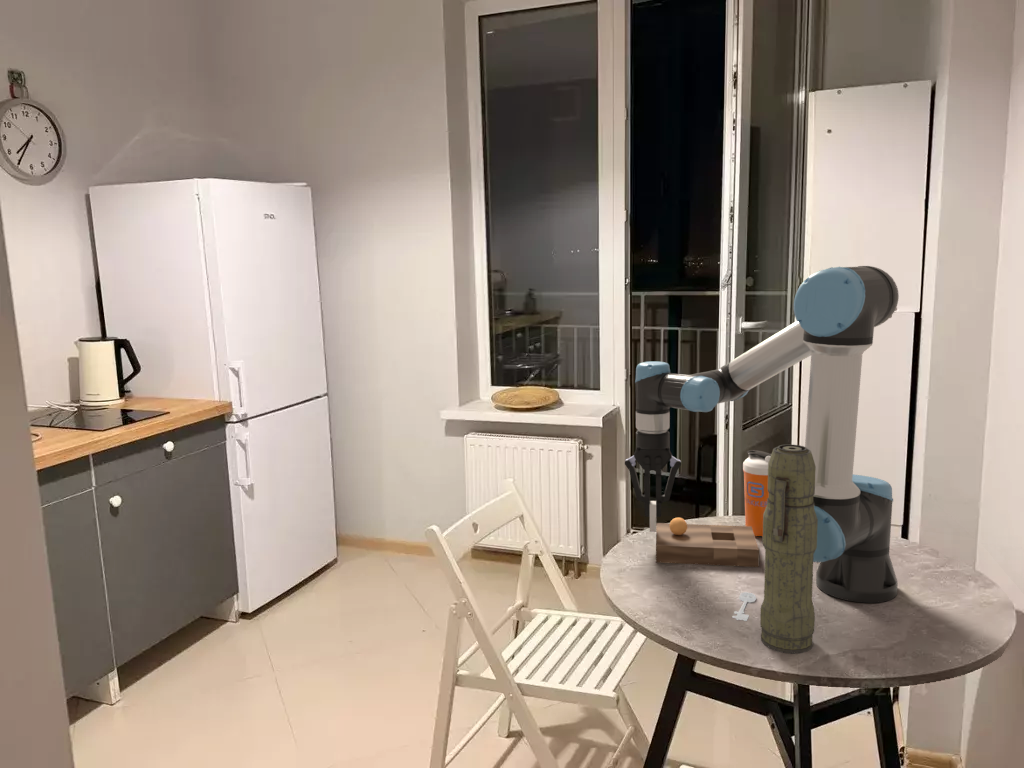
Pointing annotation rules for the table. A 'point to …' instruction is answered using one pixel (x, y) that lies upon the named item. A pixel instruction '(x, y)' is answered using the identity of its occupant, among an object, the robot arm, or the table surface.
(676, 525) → the ball
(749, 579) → the table surface
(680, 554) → the board
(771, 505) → the thermos
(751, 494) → the shaker bottle
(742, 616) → the key
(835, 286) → the robot arm
